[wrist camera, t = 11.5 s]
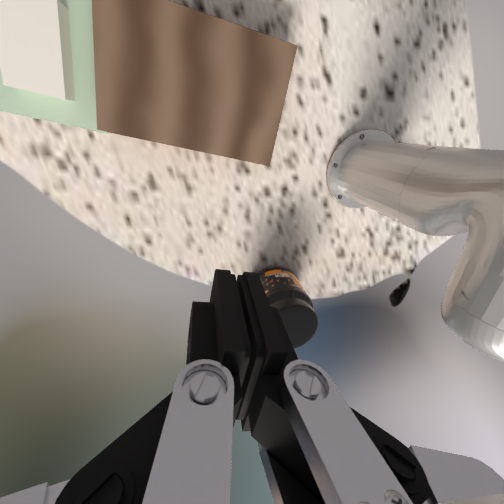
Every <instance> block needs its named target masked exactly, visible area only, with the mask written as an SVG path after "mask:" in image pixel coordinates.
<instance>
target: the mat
mask: <svg viewBox="0 0 504 504" xmlns="http://www.w3.org/2000/svg"><path fill="white" fill-rule="evenodd" d="M58 1H59V2H61V3H62V4H63V5H64V6H65V7H66V8H67V9H68V10H69V24H70V38H71V53H72V67H73V81H74V95H75V101H71V100H65V99H61V98H57V97H52V96H48V95H44V94H40V93H35V92H31V91H27V90H22V89H18V88H14V87H9V86H5V85H3V81H2V75H1V69H0V111H3V112H8V113H13V114H17V115H22V116H27V117H32V118H36V119H41V120H46V121H51V122H55V123H60V124H65V125H70V126H75V127H79V128H84V129H89V130H94V131H98V132H103V133H108V132H106V131H101V130H97V116H96V92H95V68H94V43H93V19H92V0H58Z"/></svg>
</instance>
